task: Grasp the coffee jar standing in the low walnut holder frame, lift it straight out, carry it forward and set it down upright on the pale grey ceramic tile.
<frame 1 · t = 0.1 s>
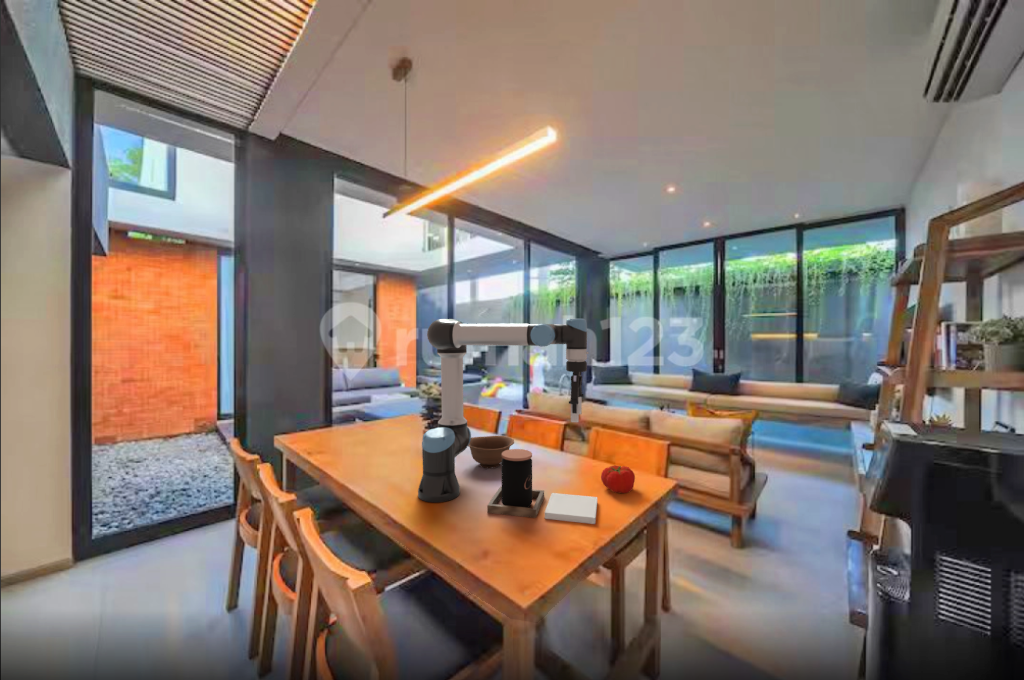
hand: (576, 417, 152), 28 cm above the table, fingers open, 13 cm apart
bowl: (490, 465, 184), on the table
holder: (517, 504, 143), on the table
coffee jar: (517, 505, 143), resting in holder
tomato: (617, 490, 155), on the table
tile: (572, 510, 139), on the table
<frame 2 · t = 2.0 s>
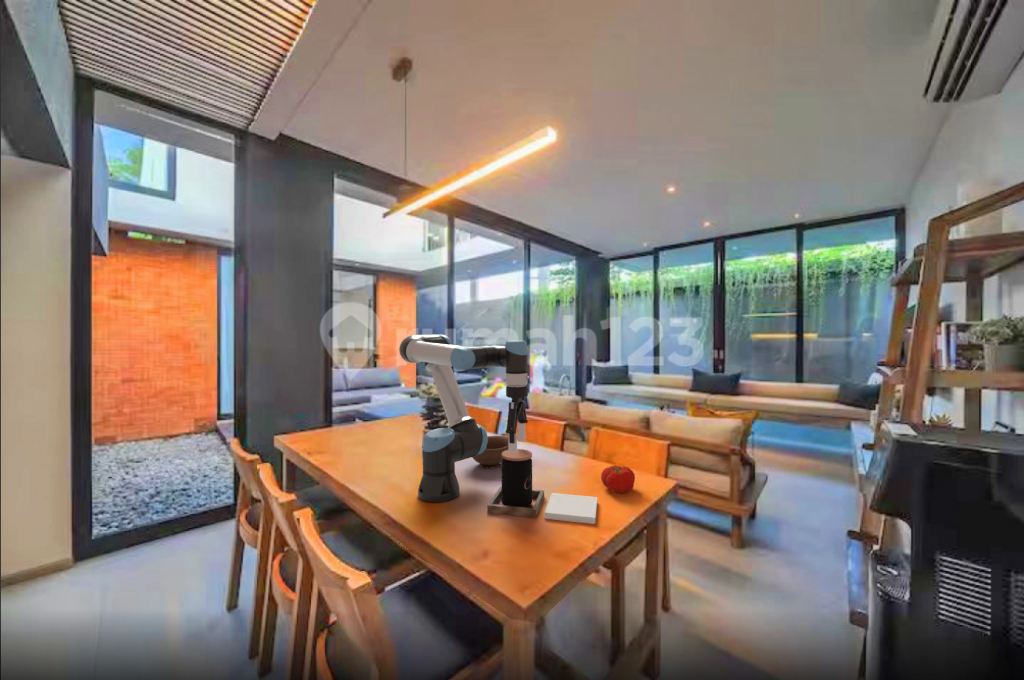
hand: (517, 446, 142), 20 cm above the table, fingers open, 13 cm apart
nothing on the table moved.
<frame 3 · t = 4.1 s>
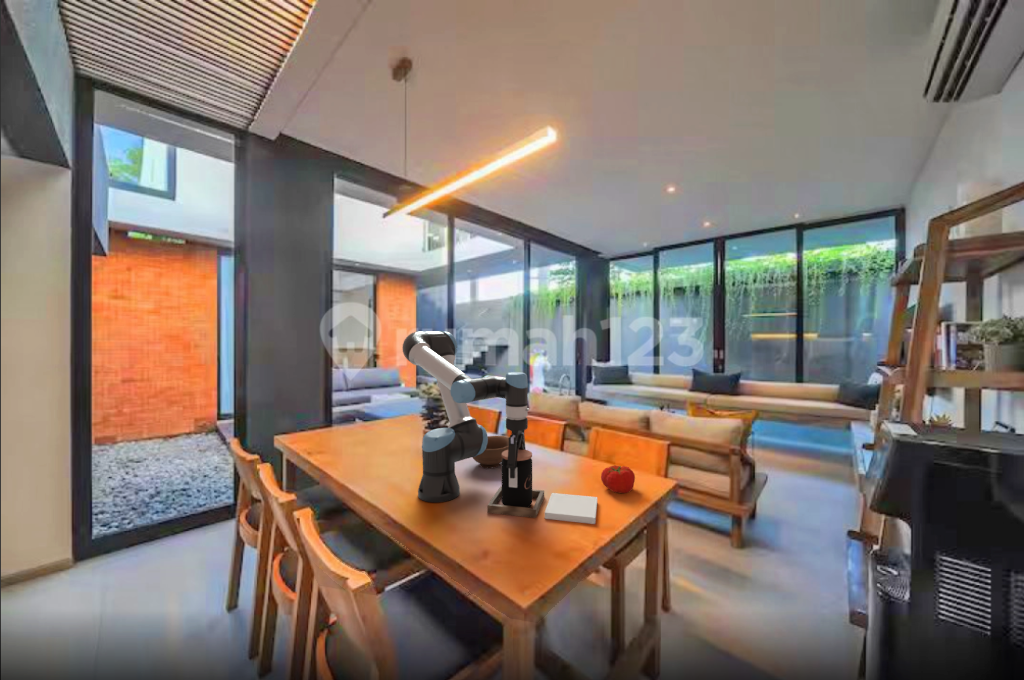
hand: (517, 480, 143), 8 cm above the table, fingers closed on coffee jar, 11 cm apart
coffee jar: (517, 505, 143), resting in holder, touching gripper
everything else where it was.
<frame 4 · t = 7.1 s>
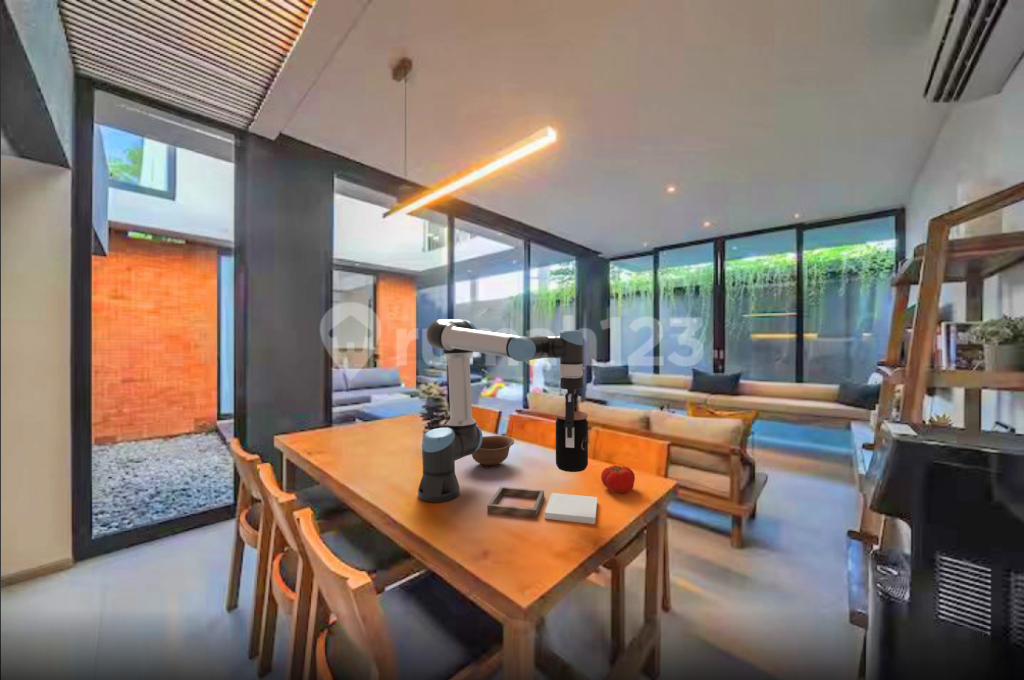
hand: (571, 442, 138), 23 cm above the table, fingers closed on coffee jar, 11 cm apart
coffee jar: (571, 467, 138), point 14 cm above the table, touching gripper
everything else where it was.
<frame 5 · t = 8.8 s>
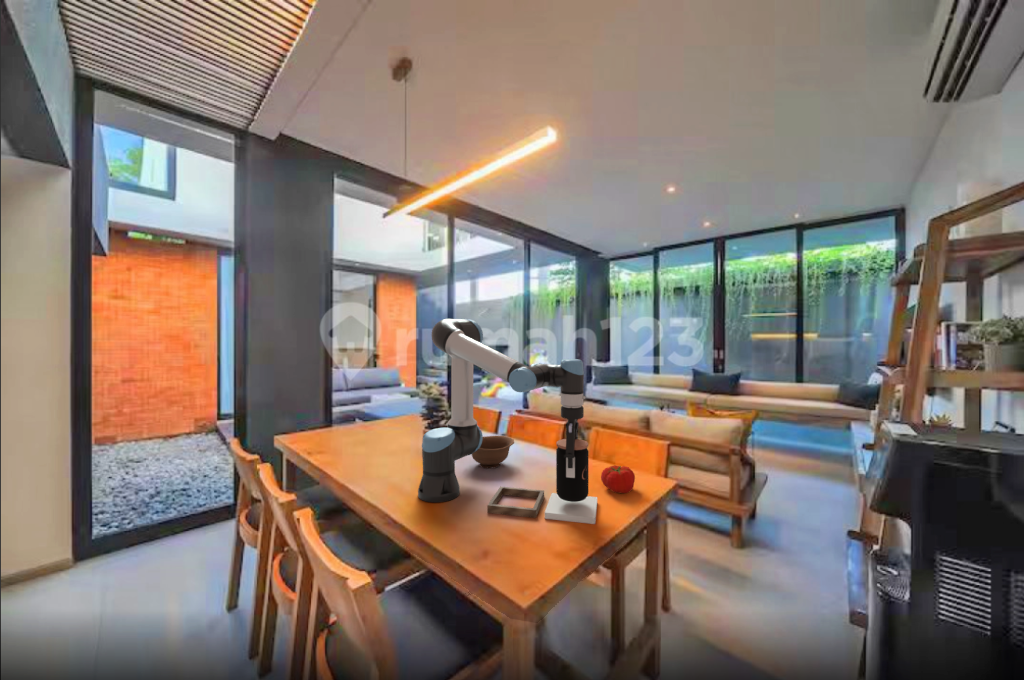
hand: (572, 471, 138), 13 cm above the table, fingers closed on coffee jar, 11 cm apart
coffee jar: (572, 496, 138), point 5 cm above the table, touching gripper
everything else where it was.
when the fingers open (12 cm above the table, at t = 10.1 s): coffee jar drops 1 cm, resting on tile.
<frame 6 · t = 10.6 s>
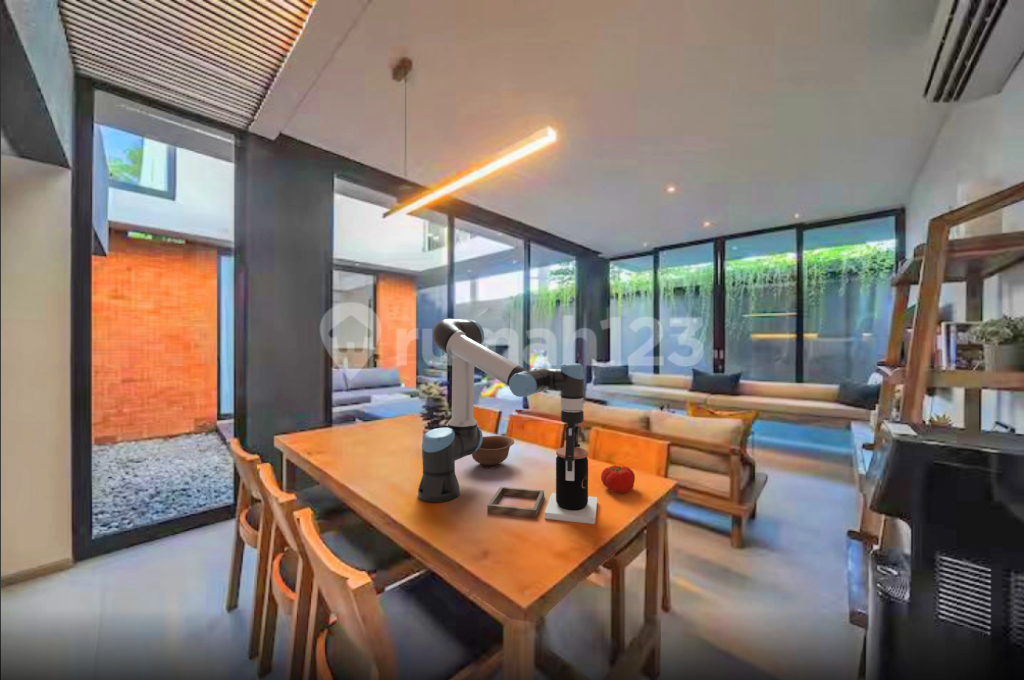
hand: (572, 473, 138), 13 cm above the table, fingers open, 13 cm apart
coffee jar: (571, 504, 139), point 2 cm above the table, touching tile
everything else where it was.
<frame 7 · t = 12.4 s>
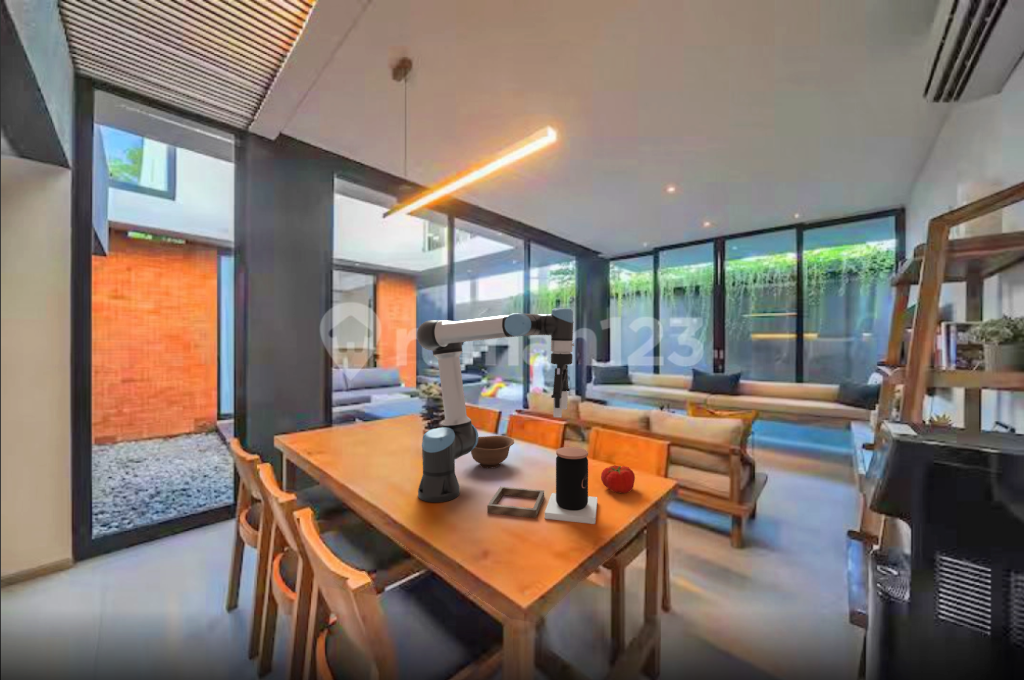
hand: (560, 413, 145), 31 cm above the table, fingers open, 13 cm apart
nothing on the table moved.
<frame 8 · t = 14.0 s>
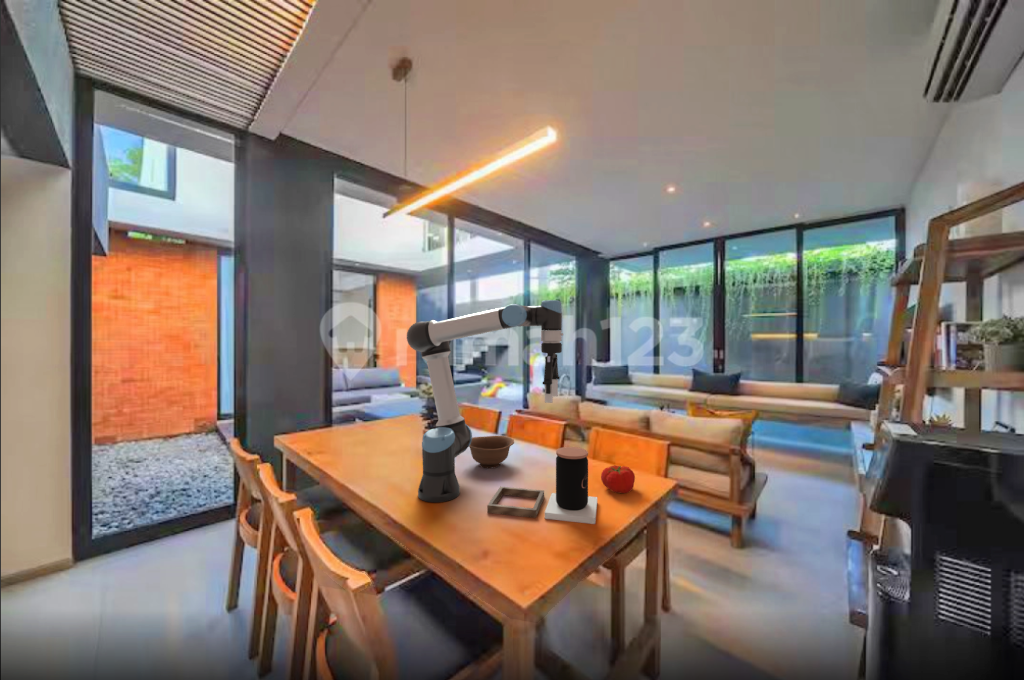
hand: (551, 399, 153), 35 cm above the table, fingers open, 13 cm apart
nothing on the table moved.
at the end: coffee jar 0.1 cm from the tile (horizontally); coffee jar tilted 0°; coffee jar point 1.8 cm above the table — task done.
